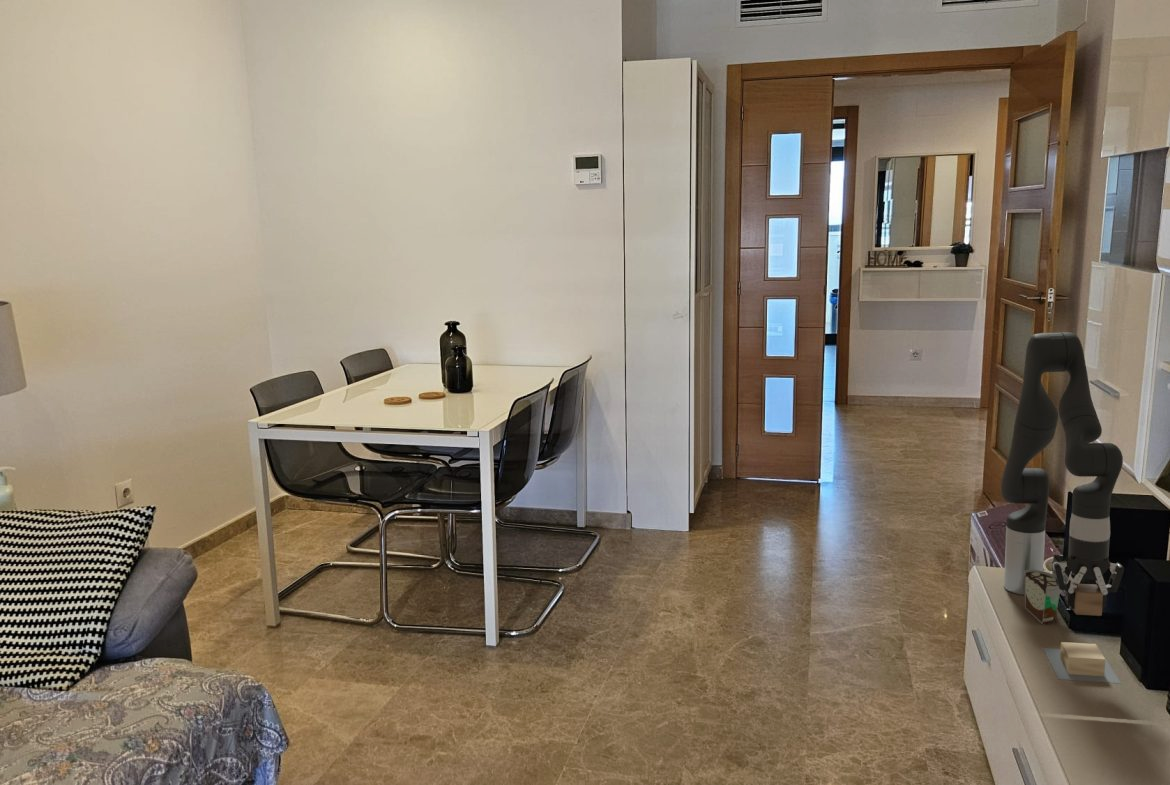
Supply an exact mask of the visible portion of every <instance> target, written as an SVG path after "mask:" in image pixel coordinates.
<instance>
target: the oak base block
mask: <svg viewBox="0 0 1170 785" xmlns="http://www.w3.org/2000/svg"><path fill="white" fill-rule="evenodd" d="M1060 649H1061V650H1060V659H1061V661H1062V663H1063V665H1064V667H1065V668H1066V670H1067V672H1068V674H1075V675H1090V676H1104V673H1105V659H1106V657H1105V656H1104V655H1102V654H1103V653H1102V651H1101V650H1100V649H1099V646H1098V645H1097V643H1086V642H1085V643H1083V642H1069V641H1067V642H1066V641H1061V642H1060ZM1104 657H1105V658H1104Z"/></svg>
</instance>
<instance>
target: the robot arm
mask: <svg viewBox="0 0 1170 785" xmlns="http://www.w3.org/2000/svg"><path fill="white" fill-rule="evenodd" d="M1060 372H1061V373H1065V372H1068V374H1069V382H1068V384H1067V387H1066V388H1065V389H1064V390H1065V391H1064V392H1063V394H1062V395H1061V398H1060V400H1059V403H1058V409H1057V406H1056V405H1055V402H1054V401H1053V400H1052V398H1051V397H1050V396H1049V394H1048V393H1047V391H1046V389H1045V387H1044V385H1043V383H1042V376H1043V374H1045V373H1060ZM1089 383H1090V382H1089V377H1088V370H1087V365H1086V359H1085V353H1084V349H1083V345H1082V342H1081V340H1080V338H1079V336H1078V335H1077V334H1075V333H1074V332H1067V331H1063V332H1040V333H1034V334H1032V335H1031V336H1030V338H1029V339H1028V342H1027V345H1026V350H1025V359H1024V368H1023V379H1022V387H1021V391H1020V398H1019V402H1018V406H1017V410H1016V413H1015V414H1016V416H1015V420H1014V425H1013V426H1014V427H1013V432H1012V433H1013V434H1012V439H1011V445H1010V449H1009V452H1008V456H1007V459H1006V462H1005V466H1004V469H1003V473H1002V476H1001V477H1002V478H1001V483H1000V492H1001V496H1002V498H1003V500H1004V501H1005V502H1007V503H1010V504H1027V505H1026V506H1025V507H1022V508H1021V509H1019V510H1014V511H1012V512H1011V513H1008V515H1007V516H1006V522H1005V524H1006V525H1005V528H1006V529H1005V550H1004V551H1005V554H1004V573H1003V574H1004V576H1003V582H1004V583H1003V587H1004V589H1006V591H1009V592H1010V593H1014V594H1017V595H1024V596H1025V577H1024V572H1025V570H1039V571H1044V562H1045V540H1046V539H1045V538H1046V524H1047V518H1048V517H1047V516H1048V515H1047V514H1048V513H1047V512H1048V503H1049V495H1050V478H1049V475H1048V472H1047V471H1046V470H1045V469H1044V468H1041V467H1027V465H1028V464H1029V462H1031V461H1032V460H1033V459H1034V458H1035V457H1036V456H1037V455H1038V454H1040V453H1041V452H1042V451H1043V450H1045V449H1046V448H1047V446H1048V445H1049V444H1050V443H1051V442H1052V441H1053V439H1054V436H1055V434H1056V429H1057V427H1058V425H1057V424H1058V422H1059V418H1060V421H1061V422H1060V423H1061V425H1062V428H1063V431H1064V434H1065V453H1064V454H1065V456H1064V464H1065V465H1064V466H1065V467H1066V469H1067V471H1068V472H1069V473H1070V474H1071V475H1073V476H1076V477H1081V478H1082V477H1083V478H1084V477H1085V478H1086V477H1096V478H1095V479H1094V480H1093V481H1091V482H1088V483H1084V484H1081V485H1077V486H1076V487H1074V488H1073V491H1072V497H1071V498H1072V500H1071V501H1072V504H1071V515H1070V516H1071V517H1070V519H1069V530H1068V531H1069V535H1068V536H1069V537H1068V552H1067V553H1068V554H1067V557H1066V559H1065V560H1063V561H1057V560H1053V561H1051V567H1052V570H1053V575H1055V579H1056V584H1057V586H1058V587H1059V589H1060V590H1063V592H1065V604H1066V605H1067V607H1068V608H1069V609H1070V610H1073V609H1074V603H1075V593H1074V591H1075V589H1076V587H1077V585H1079V584H1081V581H1087V580H1089V581H1095V583H1096V585H1097V587H1098V588H1099V589H1100V591H1101V592H1102V593H1103V602H1102V611H1104V609H1106V607H1107V598H1108V596H1107V595H1108V594H1109V593H1117V592H1118V589H1119V587H1120V584H1121V582H1122V577H1123V575H1124V573H1125V568H1124V566H1123V565H1122V564H1121V563H1120V562H1116V563H1115V562H1114V563H1113V562H1111V561H1110V560H1109V552H1110V551H1109V550H1110V540H1111V539H1110V537H1111V520H1110V512H1111V498H1112V494H1113V492H1114V489H1115V485H1116V483H1117V480H1118V479H1119V476H1120V474H1121V471H1122V467H1123V463H1124V458H1123V453H1122V451H1121V449H1120V448H1119V447H1118V445H1116V444H1114V443H1110V442H1095V441H1097V440H1098V439H1099V438H1100V437H1101V436H1102V431H1103V430H1102V429H1103V428H1102V426H1101V423H1100V420H1099V417H1098V415H1097V412H1096V409H1095V406H1094V402H1093V400H1092V395H1091V391H1090V384H1089ZM1094 442H1095V443H1094ZM1066 567H1067V568H1068V569H1069V570H1070V573H1069V576H1068V580H1067V581H1066V582H1065V579H1064V576H1063V572H1065V571H1066ZM1108 570H1109V571H1110V573H1111V574H1110V576H1109V580H1108V582H1107V584H1106V583H1105V580H1104V576H1103V575H1105V573H1106V572H1107V571H1108Z"/></svg>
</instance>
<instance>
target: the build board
mask: <svg viewBox="0 0 1170 785" xmlns="http://www.w3.org/2000/svg"><path fill="white" fill-rule="evenodd" d="M1042 649H1043V651H1044V654H1045V655H1046V657H1047V659H1048V661H1049V662H1050V664H1051V666H1052V669H1053V671H1054V673H1055V676H1056V677H1057V678H1058V680H1063V681H1064V680H1066V681H1077V682H1079V681H1081V682H1094V683H1095V682H1096V683H1110V684H1111V683H1112V684H1122V683H1121V680H1120V679H1119V678H1118V676H1117V674H1116V673H1115V671H1114V669H1112V667H1111V665H1110V664H1109V662H1108V660H1107V659H1106V657H1105V656H1104V655H1103V653H1102V655H1103V656H1104V658H1105V673H1104V676H1090V675H1075V674H1068V672H1067V670H1066V668H1065V667H1064V665H1063V663H1062V661H1061V659H1060V650H1061V648H1046V647H1044V648H1043V647H1042Z"/></svg>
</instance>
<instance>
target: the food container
mask: <svg viewBox="0 0 1170 785" xmlns="http://www.w3.org/2000/svg"><path fill="white" fill-rule="evenodd" d="M1024 577H1025V595H1024V609H1025V610H1027V612H1028V613H1030V612H1031V613H1030V614H1031V615H1032V616H1033V617H1034V618H1035V619H1037V621H1038V622H1039V623H1040V622H1041V623H1040V624H1041V625H1049V623H1050V624H1052V623H1054V622H1055V621H1056V618H1057V614H1058V605H1059V599H1060V595H1061V594H1062V593H1063V592H1064V590H1060V589H1059V587H1058V586H1057V584H1056V579H1055V575H1054V573H1050V572H1047V571H1044V570H1043V571H1039V570H1025V572H1024Z"/></svg>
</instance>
